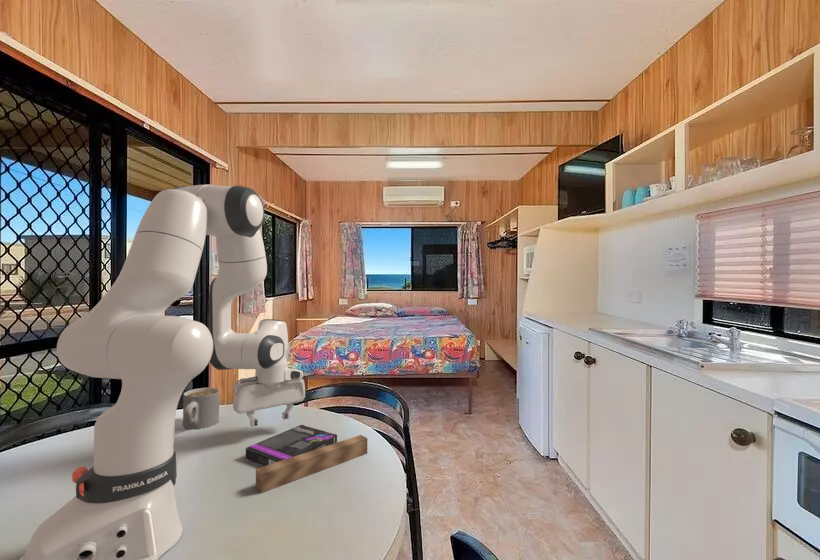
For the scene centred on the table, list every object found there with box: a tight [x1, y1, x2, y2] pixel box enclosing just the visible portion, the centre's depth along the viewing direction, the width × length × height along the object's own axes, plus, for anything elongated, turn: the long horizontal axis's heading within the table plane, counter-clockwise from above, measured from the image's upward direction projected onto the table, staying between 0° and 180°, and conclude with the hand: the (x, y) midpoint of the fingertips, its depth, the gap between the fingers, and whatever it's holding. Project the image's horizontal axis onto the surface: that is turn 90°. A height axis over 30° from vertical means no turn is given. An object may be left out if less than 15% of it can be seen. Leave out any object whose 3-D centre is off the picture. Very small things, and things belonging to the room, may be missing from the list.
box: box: [245, 424, 338, 467], centre depth 100 cm, size 14×4×20 cm
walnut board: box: [255, 434, 368, 494], centre depth 90 cm, size 28×3×4 cm, turn 133°
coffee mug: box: [182, 387, 220, 430], centre depth 117 cm, size 13×10×10 cm
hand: (270, 422), depth 109 cm, fingers open, 8 cm apart
